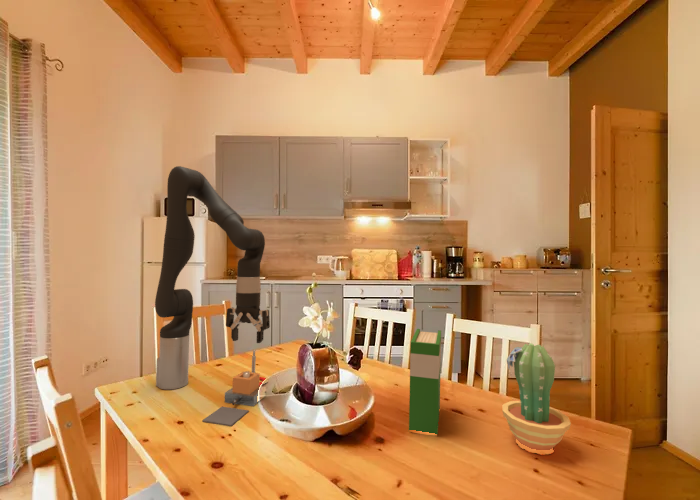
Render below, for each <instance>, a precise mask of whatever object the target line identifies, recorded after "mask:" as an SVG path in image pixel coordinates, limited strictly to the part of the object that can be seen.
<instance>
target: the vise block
mask: <svg viewBox="0 0 700 500" xmlns="http://www.w3.org/2000/svg"><path fill="white" fill-rule="evenodd" d="M242 372H243V377H245V378H249V377H250V371H249V370H248V371H242ZM259 387H260V386H259ZM258 390H259V388H258V389H256V390H255V391H254V392H252V393H251V394H242V393H235V392H232V387H231V388H230V389H228V390H227V391H225V392H224V403H226V404H232V405H233V406H235V405H239V406H247V407H248V406H249V407H255V406H256V405H257V404H258V403H257V396H258Z"/></svg>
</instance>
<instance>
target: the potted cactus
mask: <svg viewBox="0 0 700 500" xmlns="http://www.w3.org/2000/svg"><path fill="white" fill-rule="evenodd" d="M512 349H513V350H512V351H511V352H510V353H509V355H508V357H507V359H506V364H507V368H508V370H511V368H512V367H513V368H514V376H515V378H516V382H517V385H518V390H519V400H510V401H507V402H505V403H503V404H502V415H503V417H504V418H505V419H506V422H507V425H508V427H509V430H510V432H511V433H512V435H513V436H514V439H515V438H516V439H517V440H518V441H519V442H520V443H521V444H523V445H525V446H527V447H529V448H531V449H536V450H550V449H552V448H553V447H554V448H555V447H556V446H557V445H558V444H559V443H560V442H561V441H562V439H563V437H564V435H565V433H566V432H567V431H569V430H570V428H571V426H572V425H571V424H572V422H571V420H570V418H569V416H568V415H567V414H565V413H563V412H562V411H561V410H559V409H557V408H554V407H552V406H550V400H551V397H550V396H551V395H550V394H551V389H552V387H553V384H554V381H555V370H556V364H555V362H554V360H553V358H552V357H551V355H550V354H549V352H548V351H547V350H546V347H544V345H543V346H542V345H541V344H535V345H534V344H533V343H529V344H526V343H525V344H524V345H523V346H522V347H521V346H516V347H514V348H512Z"/></svg>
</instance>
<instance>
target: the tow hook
mask: <svg viewBox="0 0 700 500" xmlns="http://www.w3.org/2000/svg"><path fill="white" fill-rule="evenodd" d="M256 358H257V356H256V349H253V350H252V356H251V372H252V373H257V372H256ZM265 379H266V377H264V376H260V378H259V386H260V385H261V384H262V382H263V381H264V380H265Z"/></svg>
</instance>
